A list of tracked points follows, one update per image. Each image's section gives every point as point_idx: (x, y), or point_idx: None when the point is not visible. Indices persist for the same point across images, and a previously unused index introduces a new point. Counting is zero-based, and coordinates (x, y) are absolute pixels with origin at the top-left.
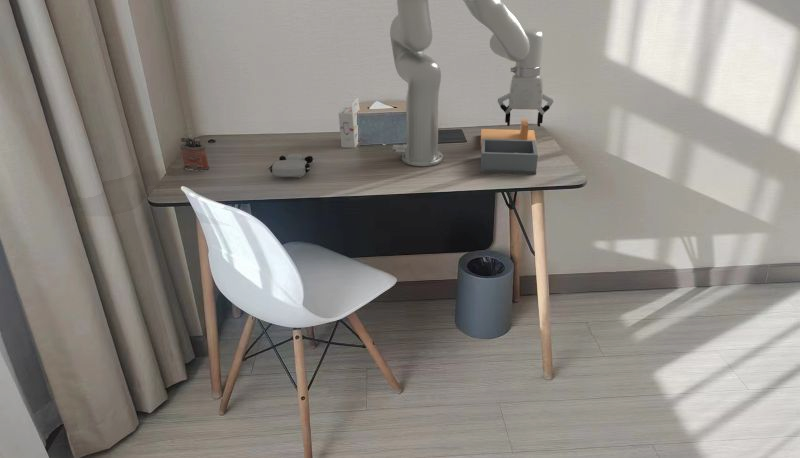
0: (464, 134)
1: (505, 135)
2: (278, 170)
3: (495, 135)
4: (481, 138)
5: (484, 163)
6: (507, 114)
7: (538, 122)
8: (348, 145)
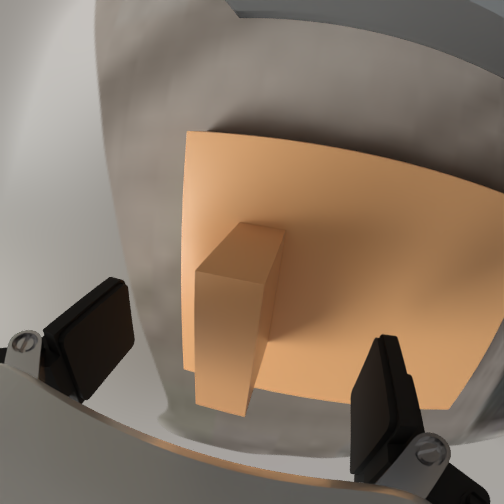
0: (490, 392)
1: (370, 324)
2: None
3: (429, 328)
4: None
5: None
6: (409, 433)
7: (103, 297)
8: None
